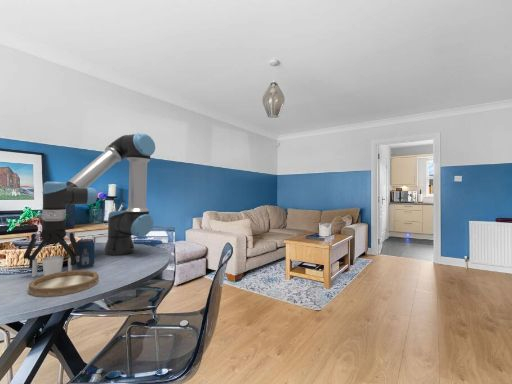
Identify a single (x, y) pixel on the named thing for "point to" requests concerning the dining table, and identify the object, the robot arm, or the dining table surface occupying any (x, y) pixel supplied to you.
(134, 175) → the robot arm
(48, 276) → the round tray
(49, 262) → the shot glass
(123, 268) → the dining table surface
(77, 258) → the dark blue box
